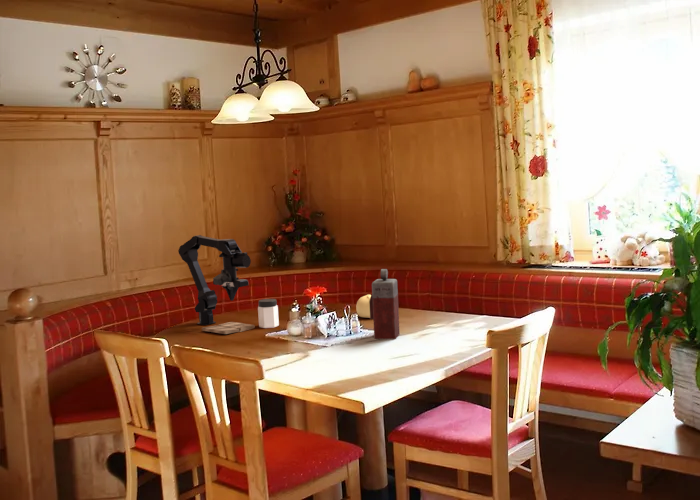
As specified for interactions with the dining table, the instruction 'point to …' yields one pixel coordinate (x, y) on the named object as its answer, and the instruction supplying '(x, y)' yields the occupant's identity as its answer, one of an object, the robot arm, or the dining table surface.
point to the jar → (268, 313)
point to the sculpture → (363, 306)
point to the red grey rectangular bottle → (385, 307)
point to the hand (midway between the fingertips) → (231, 300)
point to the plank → (220, 329)
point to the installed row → (238, 326)
